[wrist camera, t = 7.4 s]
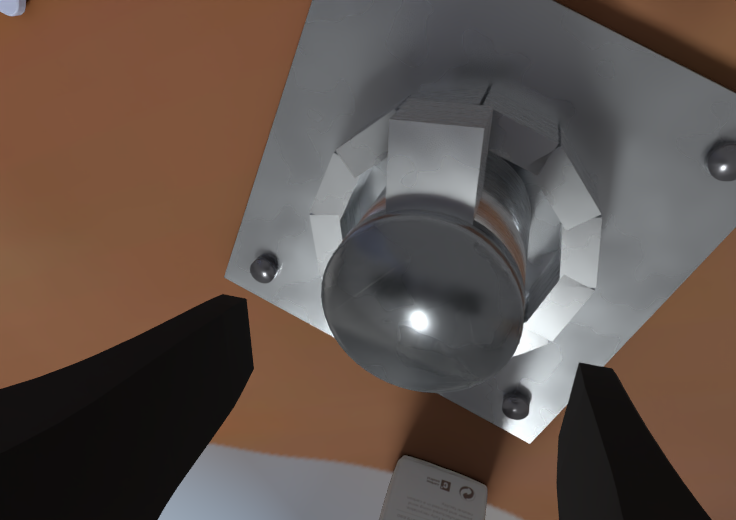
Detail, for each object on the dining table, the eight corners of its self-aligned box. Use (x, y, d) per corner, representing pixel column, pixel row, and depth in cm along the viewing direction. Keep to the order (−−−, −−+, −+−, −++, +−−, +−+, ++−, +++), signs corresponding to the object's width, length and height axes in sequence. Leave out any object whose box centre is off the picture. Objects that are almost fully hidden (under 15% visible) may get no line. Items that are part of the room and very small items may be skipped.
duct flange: (230, 271, 23) (197, 303, 21) (351, -103, 15) (318, -113, 13) (530, 434, 22) (527, 484, 20) (814, 131, 14) (857, 160, 12)
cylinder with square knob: (382, 266, 20) (323, 370, 15) (389, 70, 16) (316, 118, 11) (519, 289, 19) (506, 410, 14) (557, 82, 15) (559, 142, 10)
